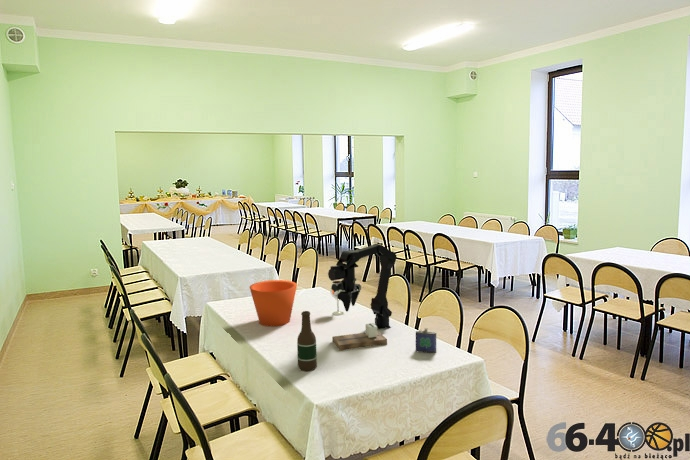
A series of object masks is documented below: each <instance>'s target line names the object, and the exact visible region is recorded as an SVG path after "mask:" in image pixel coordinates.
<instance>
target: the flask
mask: <svg viewBox="0 0 690 460" xmlns="http://www.w3.org/2000/svg"><path fill="white" fill-rule="evenodd" d="M428 330H429V329H428V328H427V327H425V328H424V330H420V329H419V330H416V331H415V351H416V352H417V351H418V352H417V353H426V352H427V354H428V353H429V354H434V353H437V332H436V331H428Z"/></svg>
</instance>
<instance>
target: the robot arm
mask: <svg viewBox="0 0 690 460" xmlns="http://www.w3.org/2000/svg"><path fill="white" fill-rule="evenodd" d="M375 254H376V255H377V257H379V265H380V272H379V279H378V284H377V290H376V295H375V297H371V299H370V301H371V302H370V309H371V311H372V313H373V314H374V315H375V318H374V324H375V325H376V326H377V330H383V329H389V328H391V325H390V317H391V316H392V314H393V312H392V310H391V309H390V308H389V306H388V305H389V301H388V299H387V293H388V288H389V282H390V277H391V276H390V275H391V271H392V268H393V267H394V266H395V264H396V262H397V261H396V260H397V253H396V252H394V251H391V250H390V249H389V248H387V247H385V246H384V245H383V244H379V243H374V244H372V245H369V246H364V247H362V248H359V249H356V250H351V249H350V250H343V251H342V252H341V254H340V257H339V259H338V260H337V261H336V265H331V266H330V269H329V270H328V272H327V275H328V276H327V277H328V279H329V280H330V281H331V282H333V281H341V282H339V283H335V284H332V283H331V286H330V290H331V289H332V290H333V291H334V292H336V291H338V290H341V292H340V293H338V294H337V299H339V301H341V302H342V304H343V306H344V311H346V312H349V310H350V306H352V307H354V306H355V305H356V302H357V300H358V298H359V295H360V293H361V291H362V285H361V284H360V283H356V281H357V278H356V269H355V268H359V265H358V264H357V262H359V261H360V260H361V259H363V258H366V257H369V256H372V255H375ZM331 287H332V288H331Z"/></svg>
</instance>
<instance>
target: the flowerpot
mask: <svg viewBox="0 0 690 460" xmlns="http://www.w3.org/2000/svg"><path fill="white" fill-rule="evenodd" d="M297 287H298V283H296V282H294V281H291V280H283V279H275V280H274V279H272V280H271V279H270V280H264V281H262V280H261V281H258V282H254V283H252V284H251V285H249V290H250V294H251V298H252V301H253V305H254V307H255V310H256V311H255V312H256V315H257V318H258V322H259V324H260V325H261V326H263V327H264V326H265V327H281V326H284V325H285V326H286V325H287V324H289V323H290V322H291V317H292V312H293V307H294V303H295V296H296V292H297Z"/></svg>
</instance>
